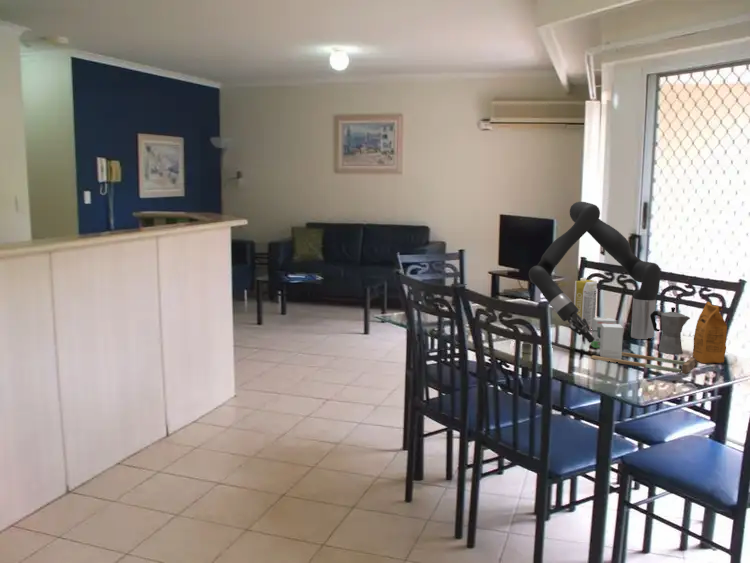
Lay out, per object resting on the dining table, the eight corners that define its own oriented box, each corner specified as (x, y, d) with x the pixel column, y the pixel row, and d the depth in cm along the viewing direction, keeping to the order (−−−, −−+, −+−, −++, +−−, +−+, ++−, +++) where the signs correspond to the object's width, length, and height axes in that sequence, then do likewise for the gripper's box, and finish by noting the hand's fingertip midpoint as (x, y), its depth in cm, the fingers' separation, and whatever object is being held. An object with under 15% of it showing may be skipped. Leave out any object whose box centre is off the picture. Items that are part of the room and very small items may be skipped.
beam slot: (603, 351, 271) (603, 344, 270) (695, 365, 250) (695, 357, 250) (591, 358, 260) (591, 350, 260) (686, 373, 240) (686, 365, 239)
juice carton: (582, 327, 317) (584, 276, 314) (597, 329, 311) (599, 278, 308) (570, 329, 311) (572, 278, 308) (585, 332, 305) (587, 279, 302)
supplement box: (621, 360, 258) (623, 327, 256) (601, 359, 260) (603, 326, 258) (618, 355, 265) (620, 323, 264) (599, 354, 267) (600, 322, 265)
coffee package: (715, 357, 264) (720, 301, 260) (727, 365, 251) (732, 307, 248) (688, 355, 265) (692, 300, 262) (699, 364, 253) (703, 306, 250)
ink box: (593, 348, 277) (594, 319, 275) (590, 345, 282) (592, 317, 280) (615, 348, 276) (616, 320, 275) (611, 345, 281) (613, 317, 280)
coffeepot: (691, 352, 270) (694, 308, 268) (682, 356, 264) (685, 311, 261) (653, 345, 281) (655, 303, 279) (643, 349, 275) (646, 305, 272)
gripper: (564, 303, 264) (593, 338, 259) (576, 298, 275) (605, 332, 269) (550, 314, 268) (579, 349, 263) (563, 310, 279) (591, 343, 273)
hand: (592, 341), depth 266 cm, fingers closed
